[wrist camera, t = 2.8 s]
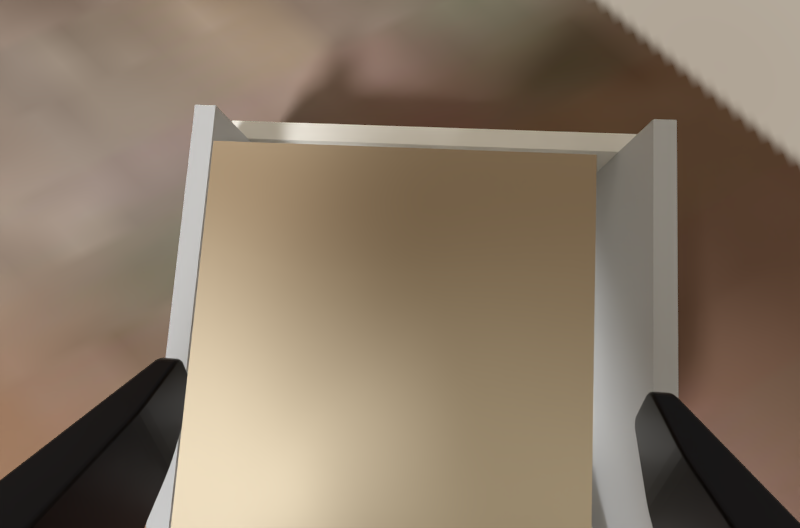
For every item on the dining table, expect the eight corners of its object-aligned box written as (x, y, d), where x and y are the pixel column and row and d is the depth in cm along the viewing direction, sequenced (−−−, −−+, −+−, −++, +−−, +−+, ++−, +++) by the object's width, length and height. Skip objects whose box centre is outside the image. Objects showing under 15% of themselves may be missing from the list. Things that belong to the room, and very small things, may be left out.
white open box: (601, 535, 17) (680, 633, 12) (227, 502, 18) (140, 578, 13) (605, 164, 19) (676, 98, 13) (262, 151, 20) (197, 84, 14)
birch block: (473, 391, 17) (591, 575, 5) (360, 384, 18) (169, 535, 5) (478, 278, 18) (596, 155, 5) (368, 272, 18) (213, 140, 5)
